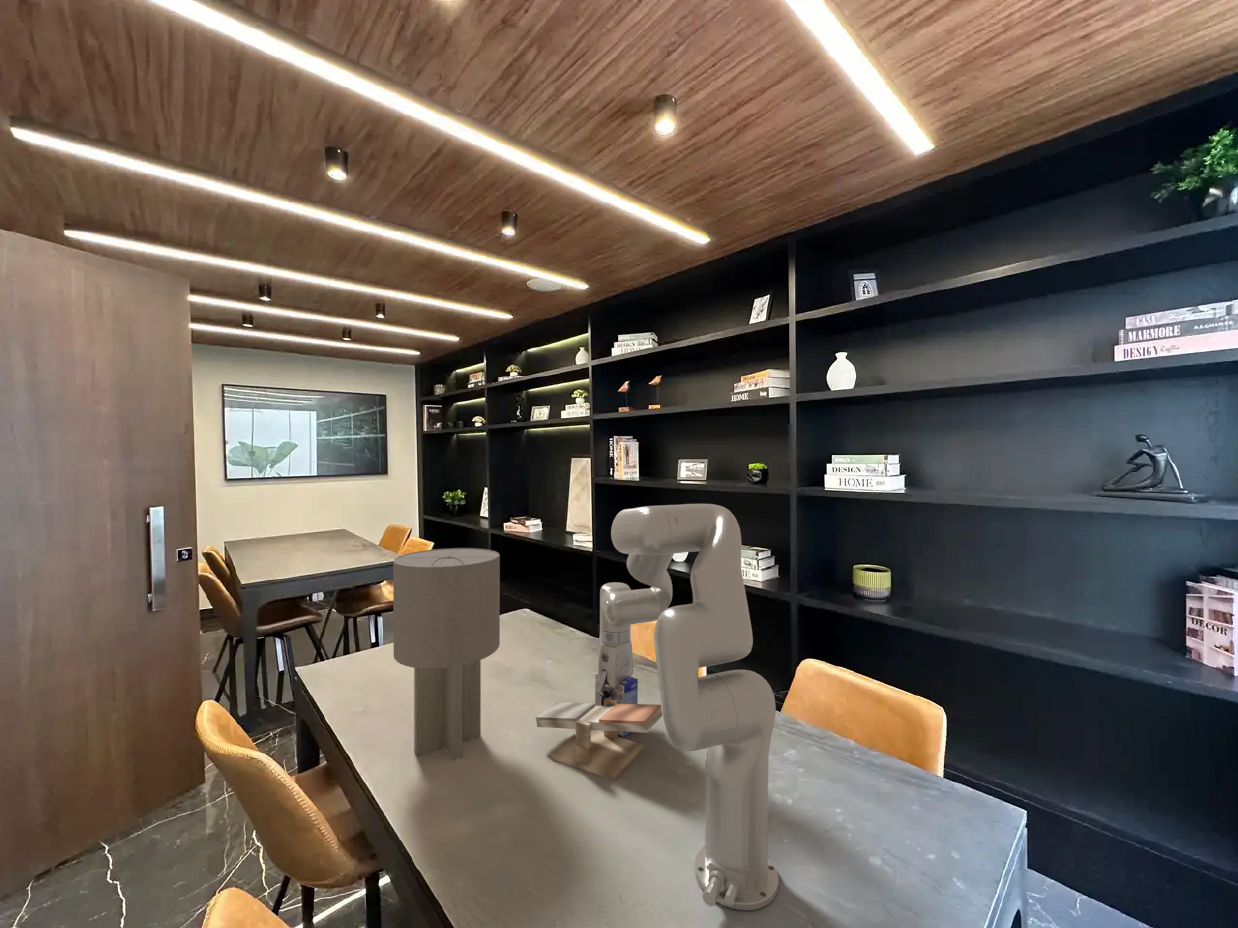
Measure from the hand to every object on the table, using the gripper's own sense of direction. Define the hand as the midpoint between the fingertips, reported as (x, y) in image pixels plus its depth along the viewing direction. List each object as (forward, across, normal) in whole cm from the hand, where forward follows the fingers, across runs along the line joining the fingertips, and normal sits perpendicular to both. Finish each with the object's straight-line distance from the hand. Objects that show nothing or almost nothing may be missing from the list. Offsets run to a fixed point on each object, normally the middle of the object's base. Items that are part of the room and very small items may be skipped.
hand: (614, 707), depth 124 cm
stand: (+4, -12, -2) cm, 13 cm away
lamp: (+5, -25, +30) cm, 39 cm away
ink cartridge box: (+5, 0, -1) cm, 5 cm away
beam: (-4, -12, -2) cm, 13 cm away
